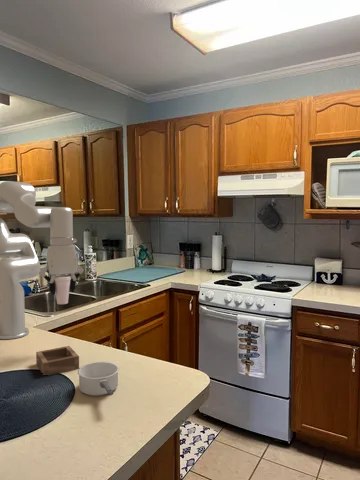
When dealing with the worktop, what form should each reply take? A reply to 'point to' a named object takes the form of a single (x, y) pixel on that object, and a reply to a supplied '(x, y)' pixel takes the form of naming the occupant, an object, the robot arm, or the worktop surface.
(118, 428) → the worktop surface
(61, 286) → the smoothie
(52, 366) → the wooden frame
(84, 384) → the saucepan
